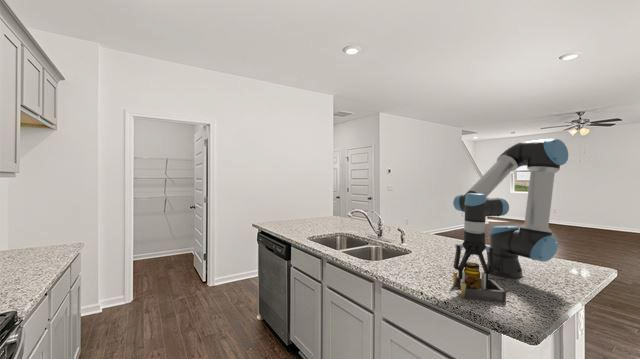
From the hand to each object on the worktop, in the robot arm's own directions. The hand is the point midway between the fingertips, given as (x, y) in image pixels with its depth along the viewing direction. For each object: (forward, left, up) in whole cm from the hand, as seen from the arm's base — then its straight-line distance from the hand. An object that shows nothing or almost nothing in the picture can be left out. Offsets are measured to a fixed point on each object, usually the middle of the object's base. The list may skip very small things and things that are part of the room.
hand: (472, 287), depth 116 cm
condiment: (0, -1, -2) cm, 3 cm away
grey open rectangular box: (-2, 0, -2) cm, 3 cm away
